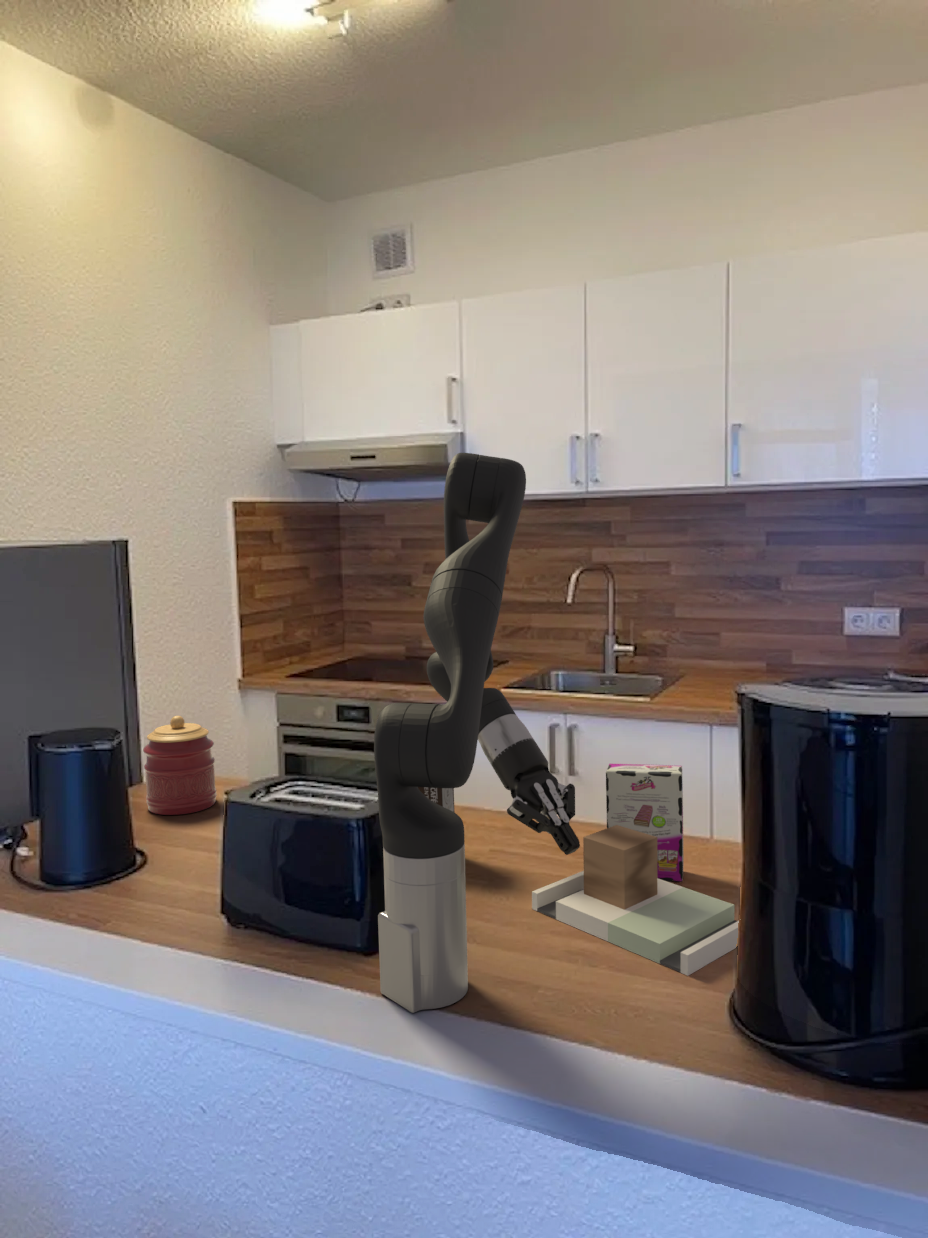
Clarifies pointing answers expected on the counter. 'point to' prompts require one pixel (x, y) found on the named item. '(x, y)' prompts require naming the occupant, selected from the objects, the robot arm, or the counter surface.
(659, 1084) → the counter surface
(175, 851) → the counter surface
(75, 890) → the counter surface
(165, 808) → the canister
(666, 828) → the candy bar box
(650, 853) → the walnut block
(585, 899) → the platform
